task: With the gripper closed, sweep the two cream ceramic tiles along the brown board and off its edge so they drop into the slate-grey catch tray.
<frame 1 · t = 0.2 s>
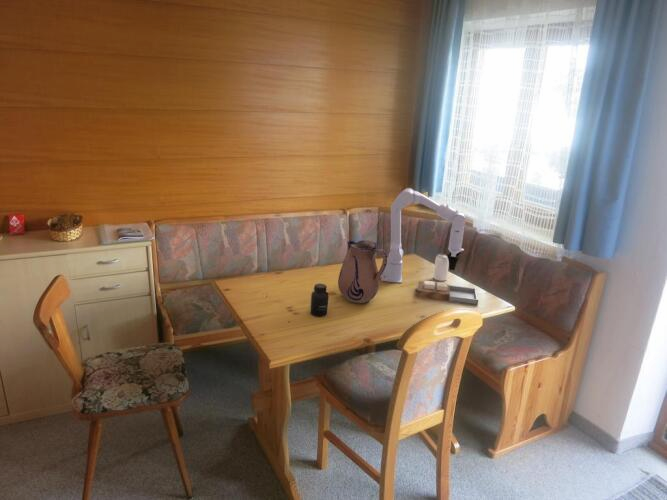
hand: (452, 267, 225), 10 cm above the table, tool pointing down, fingers open, 7 cm apart
can: (439, 279, 238), on the table
supplement bottle: (318, 314, 192), on the table
brown board: (433, 293, 219), on the table
ceramic pitcher: (361, 300, 208), on the table
catch tray: (462, 297, 216), on the table
tile 1: (429, 287, 218), point 3 cm above the table, touching brown board
tile 2: (441, 288, 217), point 3 cm above the table, touching brown board
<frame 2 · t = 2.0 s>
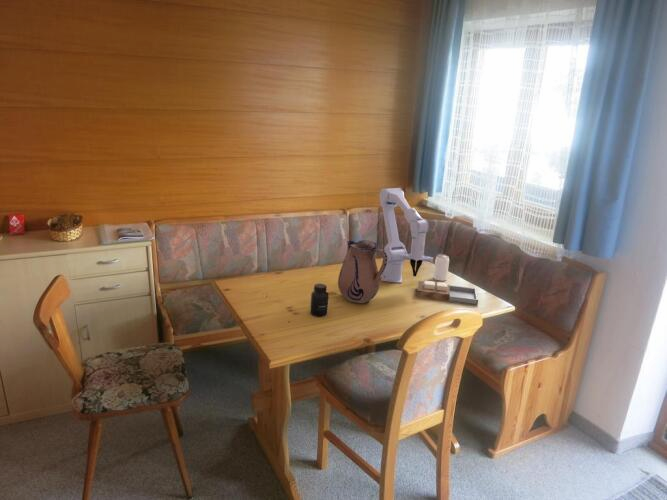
hand: (414, 275, 218), 8 cm above the table, tool pointing down, fingers closed
nothing on the table moved.
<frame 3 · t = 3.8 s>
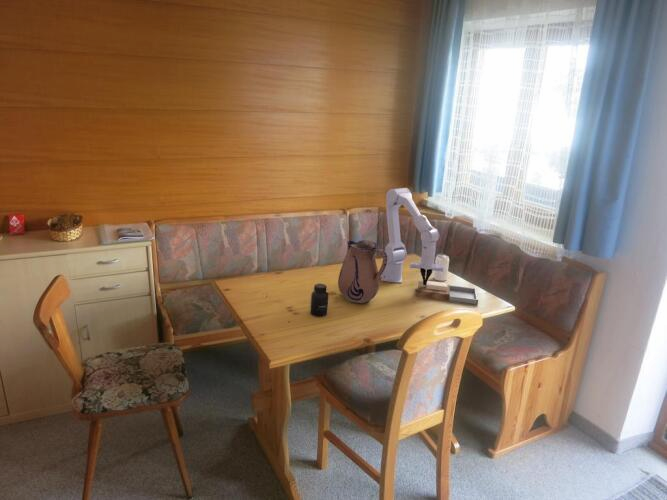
hand: (424, 284, 218), 4 cm above the table, tool pointing down, fingers closed
tile 1: (431, 287, 218), point 3 cm above the table, touching gripper, tile 2, brown board
tile 2: (441, 288, 217), point 3 cm above the table, touching tile 1
everything else where it was.
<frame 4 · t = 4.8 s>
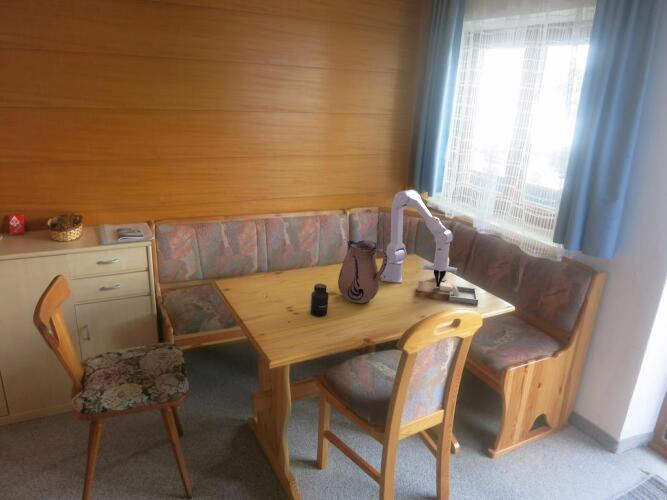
hand: (437, 286, 217), 4 cm above the table, tool pointing down, fingers closed
tile 1: (444, 288, 217), point 3 cm above the table, touching gripper, brown board
tile 2: (452, 290, 217), point 3 cm above the table, tilted 61°, touching catch tray
everything else where it was.
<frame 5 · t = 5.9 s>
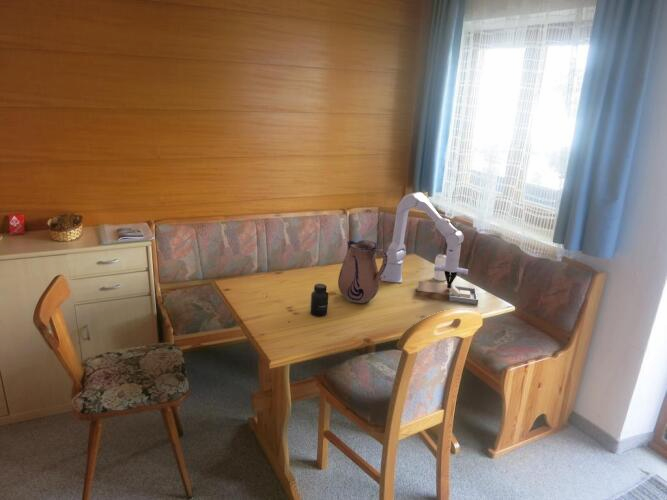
hand: (448, 287, 216), 4 cm above the table, tool pointing down, fingers closed
tile 1: (452, 291, 217), point 2 cm above the table, tilted 38°, touching catch tray, gripper
tile 2: (465, 292, 216), point 3 cm above the table, tilted 180°, touching catch tray
everything else where it was.
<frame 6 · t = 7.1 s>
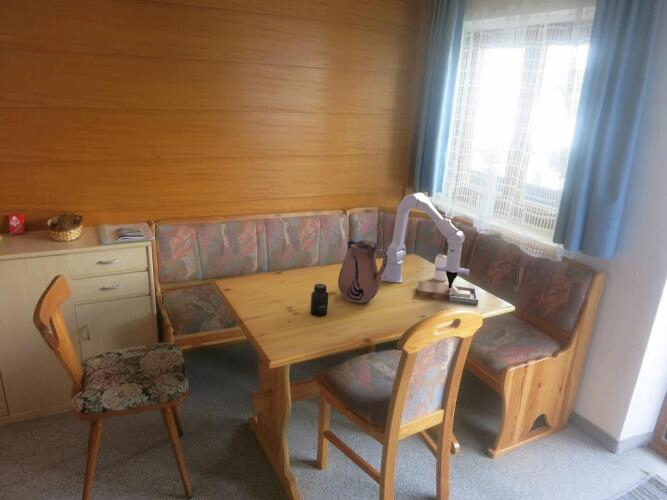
hand: (449, 287, 216), 4 cm above the table, tool pointing down, fingers closed, pressing on tile 1
tile 1: (452, 291, 217), point 2 cm above the table, tilted 40°, touching catch tray, gripper
everything else where it was.
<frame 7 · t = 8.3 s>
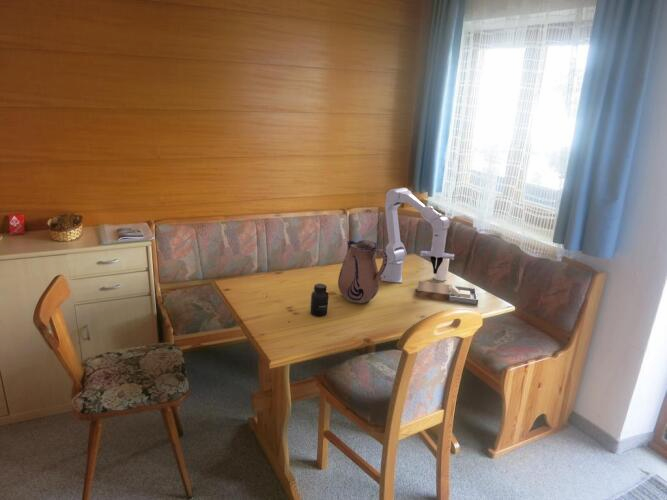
hand: (434, 272, 216), 10 cm above the table, tool pointing down, fingers closed
tile 1: (452, 292, 217), point 2 cm above the table, tilted 37°, touching catch tray, brown board
everything else where it was.
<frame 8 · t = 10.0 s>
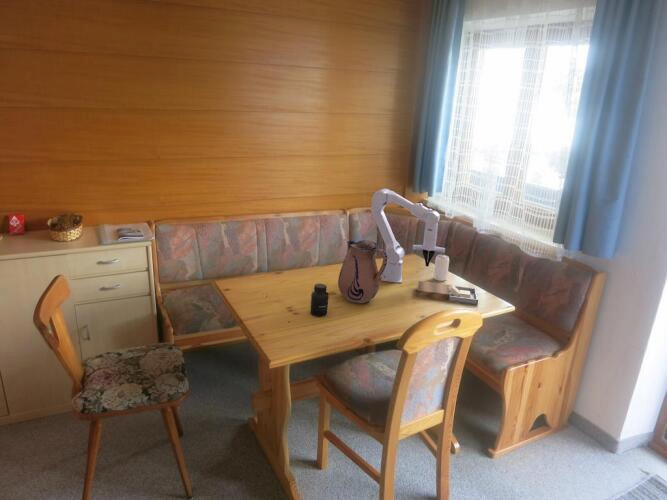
hand: (427, 265, 225), 10 cm above the table, tool pointing down, fingers closed
nothing on the table moved.
at the end: tile 1 inside the target area (4.6 cm from its centre), point 1.9 cm above the table; tile 2 inside the target area (0.7 cm from its centre), point 2.6 cm above the table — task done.
